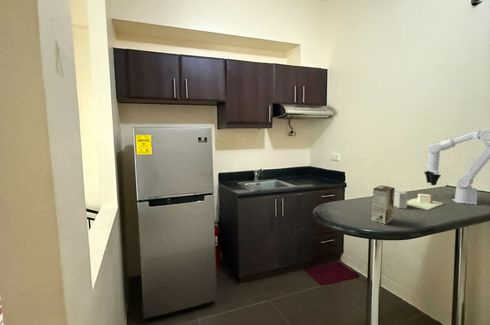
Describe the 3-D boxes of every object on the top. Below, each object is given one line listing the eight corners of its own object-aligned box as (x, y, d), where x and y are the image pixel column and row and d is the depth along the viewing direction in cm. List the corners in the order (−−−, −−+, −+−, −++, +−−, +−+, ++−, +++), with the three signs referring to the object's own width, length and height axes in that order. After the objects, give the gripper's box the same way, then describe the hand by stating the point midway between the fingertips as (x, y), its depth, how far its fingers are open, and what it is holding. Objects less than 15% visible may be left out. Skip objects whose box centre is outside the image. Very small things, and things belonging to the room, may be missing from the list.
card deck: (417, 201, 152) (418, 193, 151) (430, 202, 150) (431, 194, 149) (419, 202, 149) (419, 195, 148) (432, 203, 147) (432, 195, 146)
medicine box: (407, 208, 139) (408, 193, 138) (398, 208, 140) (400, 193, 138) (398, 204, 147) (399, 189, 146) (390, 204, 147) (392, 189, 146)
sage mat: (416, 198, 159) (416, 197, 159) (443, 204, 148) (443, 203, 148) (400, 203, 149) (400, 202, 149) (428, 210, 137) (428, 209, 137)
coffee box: (378, 216, 127) (380, 185, 125) (392, 220, 122) (395, 187, 120) (370, 221, 121) (373, 187, 119) (385, 225, 116) (387, 190, 114)
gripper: (422, 161, 169) (420, 181, 171) (429, 164, 155) (427, 185, 157) (434, 161, 167) (432, 181, 168) (443, 164, 153) (441, 186, 155)
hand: (431, 183), depth 163 cm, fingers open, 7 cm apart
